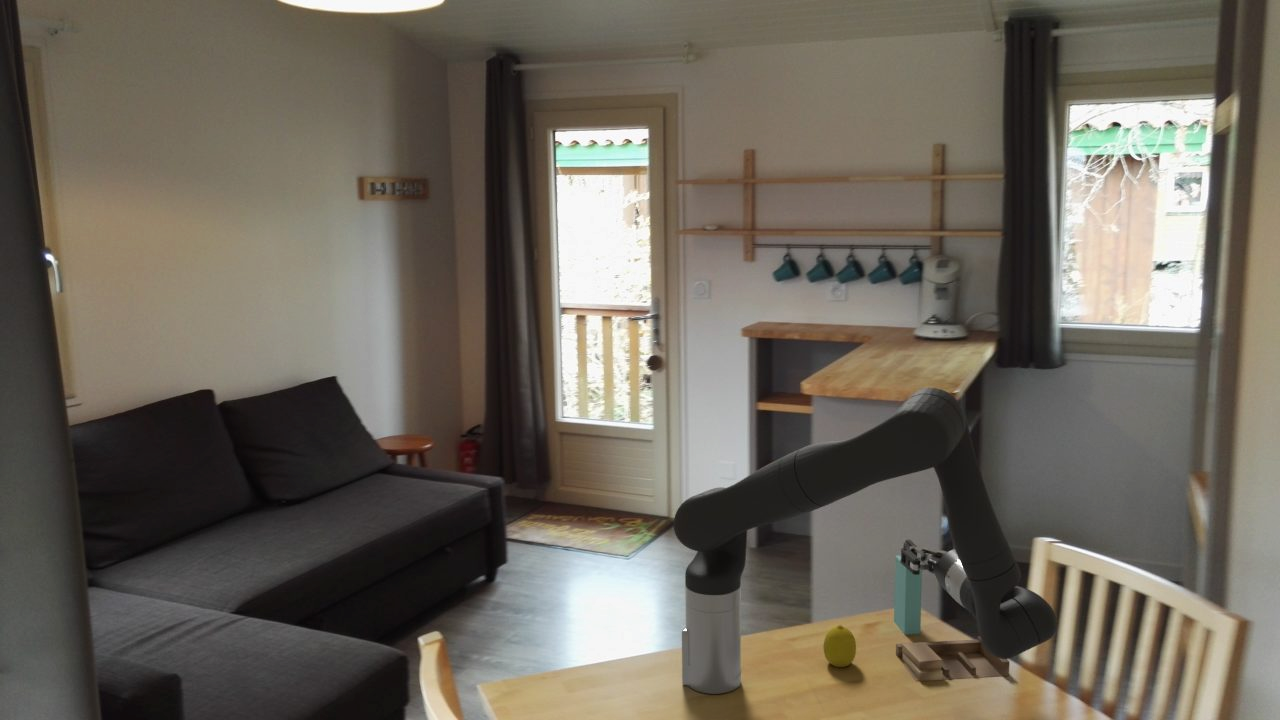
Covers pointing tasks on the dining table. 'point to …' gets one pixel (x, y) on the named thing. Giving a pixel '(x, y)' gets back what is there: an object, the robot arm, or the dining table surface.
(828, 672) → the dining table surface
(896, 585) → the teal rectangular block
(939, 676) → the offcut lower
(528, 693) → the dining table surface
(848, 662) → the lemon
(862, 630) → the dining table surface
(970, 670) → the rack
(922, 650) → the offcut upper
